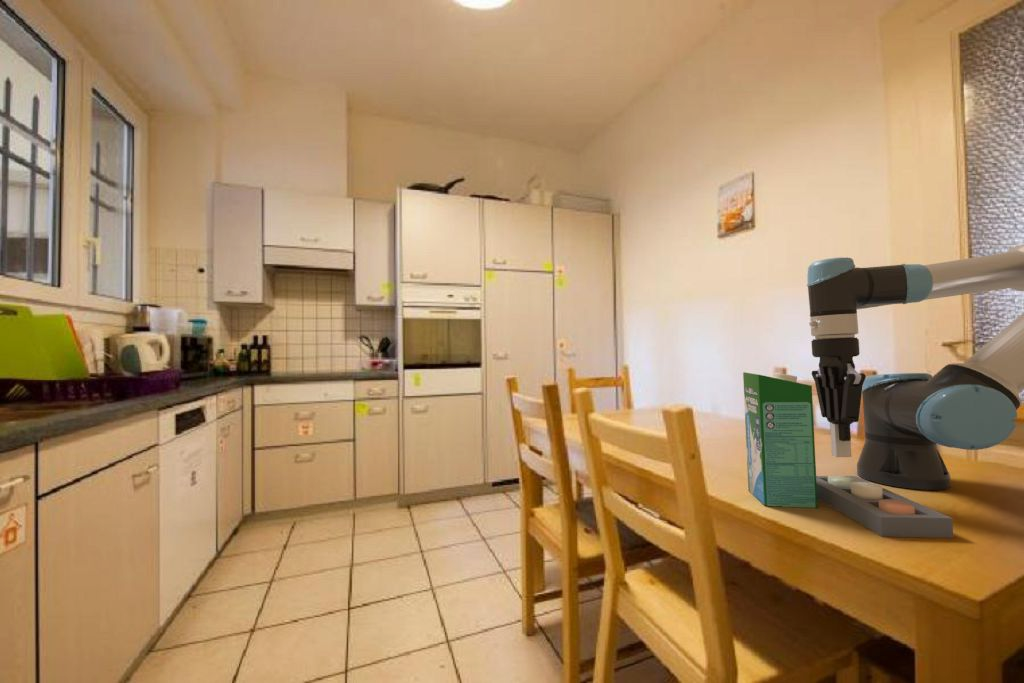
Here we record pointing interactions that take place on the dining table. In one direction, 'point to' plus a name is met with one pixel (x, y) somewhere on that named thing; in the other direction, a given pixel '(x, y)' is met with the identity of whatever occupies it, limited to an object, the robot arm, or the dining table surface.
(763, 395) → the milk carton
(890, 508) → the terracotta button
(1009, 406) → the robot arm
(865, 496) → the ivory button
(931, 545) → the dining table surface
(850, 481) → the sage button
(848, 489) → the grey button tray
